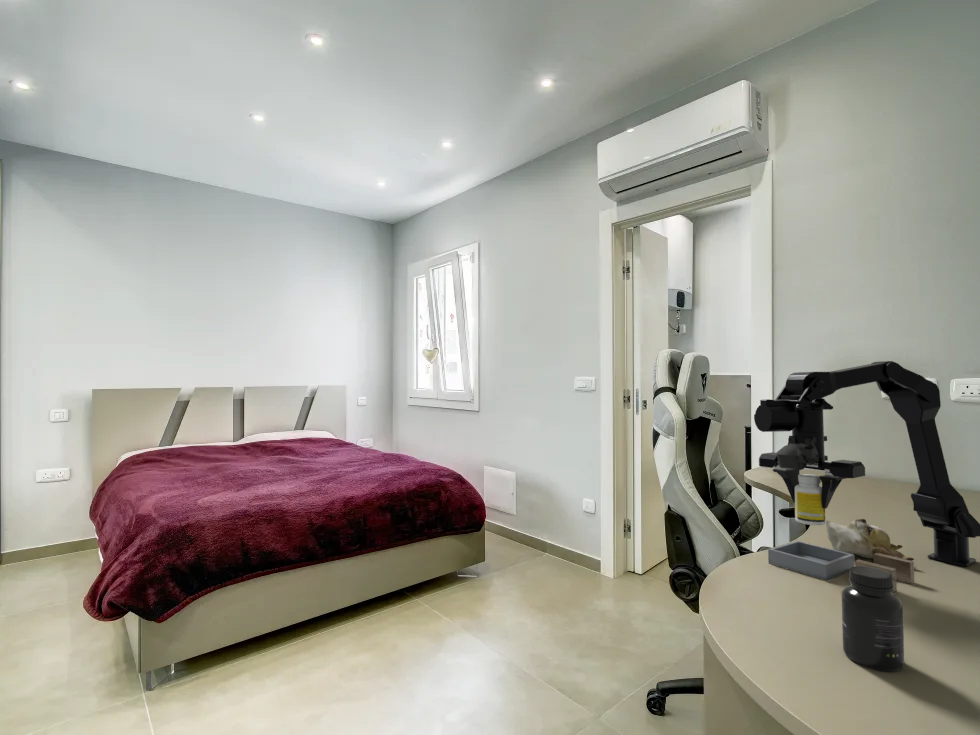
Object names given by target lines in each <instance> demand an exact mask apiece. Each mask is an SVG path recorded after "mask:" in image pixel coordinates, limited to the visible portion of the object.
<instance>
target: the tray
mask: <svg viewBox="0 0 980 735" xmlns="http://www.w3.org/2000/svg"><path fill="white" fill-rule="evenodd" d="M767 550H768V551H767V552H768V554H767V556H768V559H767V560H768V564H769V565H772V564H773V565H774V566H777V567H779V566H780V567H779V568H783V567H784V569H786V568H787V570H789V569H791V570H790V571H792V572H796V571H797V572H796V573H799V572H800V574H803V573H804V574H803V575H806V576H809V575H810V577H812V578H817V579H819V578H820V580H824V581H826V580H827V581H829V580H832V579H835V578H836V577H837V578H838V577H839V576H842V575H844V574H848V573H850V568H852V567H855V554H853V553H845V552H841V551H837V550H833V548H828V547H825V546H824V547H823V546H820V545H816V544H813V543H812V544H811V543H807V542H804V541H801V540H794V541H791V542H788V543H785V544H781V545H778V546H774V547H769V548H768V549H767Z"/></svg>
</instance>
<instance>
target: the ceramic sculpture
mask: <svg viewBox="0 0 980 735" xmlns="http://www.w3.org/2000/svg"><path fill="white" fill-rule="evenodd" d="M825 529H826V535H827V538H828V540H829V542H830V544H831V547H832V549H833V550H837V551H841V552H845V553H849V554H853V555H857V556H860V557H861V558H865V559H869V560H874V554H875V553H881V554H885V555H889V556H893V557H897V558H902V559H906V560H910V561H914V560H915V559H914V558H913V557H910V556H906V555H905V554H904V553H902V552H901V551H899V549H900V550H901V549H902V548H903V545H900V544H893V543H891V538H890V536H889V534H888V533H887V532H886V531H885V530H884V529H883V528H881V527H880V526H877V525H872V524H868V522H867V520H866V519H865V518H861V519H860V518H859V519H855V520H852V521H851V522H850V523H849V524H847V525H843V524H842V525H841V524H838V523H836V522H834V521H833V522H832V521H830V520H825Z"/></svg>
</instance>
